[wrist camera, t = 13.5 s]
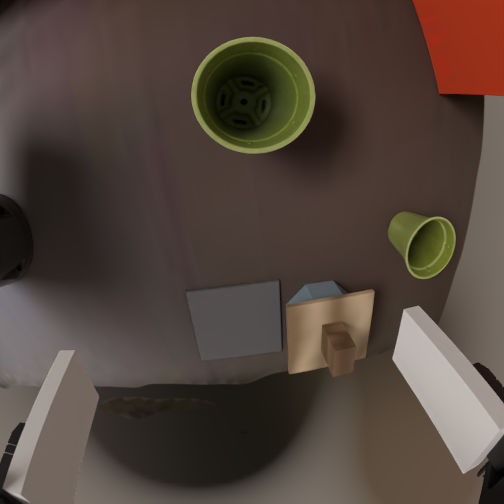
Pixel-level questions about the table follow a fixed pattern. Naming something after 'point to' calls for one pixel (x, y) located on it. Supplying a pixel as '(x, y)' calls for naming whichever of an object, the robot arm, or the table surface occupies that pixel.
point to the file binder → (465, 44)
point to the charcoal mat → (236, 319)
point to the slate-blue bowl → (317, 292)
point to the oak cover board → (325, 314)
